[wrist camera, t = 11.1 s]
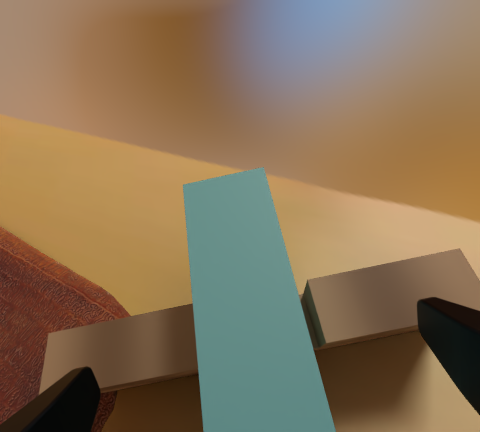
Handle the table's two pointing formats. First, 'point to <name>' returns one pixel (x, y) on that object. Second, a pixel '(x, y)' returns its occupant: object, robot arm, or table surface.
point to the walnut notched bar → (314, 308)
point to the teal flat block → (248, 313)
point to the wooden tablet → (42, 320)
